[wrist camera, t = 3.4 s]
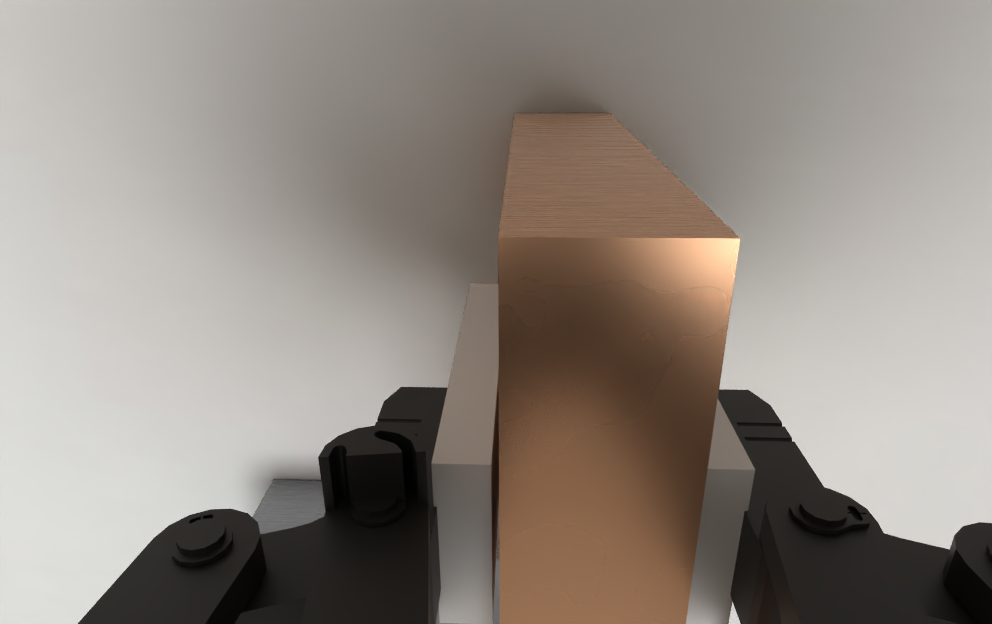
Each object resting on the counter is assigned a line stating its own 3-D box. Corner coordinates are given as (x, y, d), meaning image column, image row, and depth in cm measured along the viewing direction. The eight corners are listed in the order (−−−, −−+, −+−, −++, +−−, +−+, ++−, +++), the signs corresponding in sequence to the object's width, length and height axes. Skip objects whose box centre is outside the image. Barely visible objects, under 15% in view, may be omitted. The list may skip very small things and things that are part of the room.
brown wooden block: (514, 113, 15) (498, 236, 6) (611, 113, 15) (740, 239, 6) (512, 450, 19) (500, 846, 10) (591, 451, 19) (653, 853, 10)
